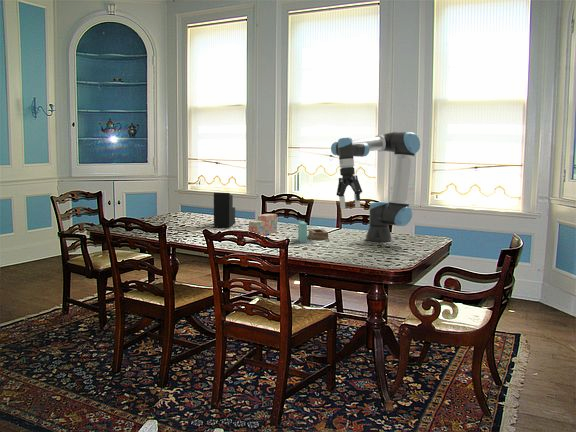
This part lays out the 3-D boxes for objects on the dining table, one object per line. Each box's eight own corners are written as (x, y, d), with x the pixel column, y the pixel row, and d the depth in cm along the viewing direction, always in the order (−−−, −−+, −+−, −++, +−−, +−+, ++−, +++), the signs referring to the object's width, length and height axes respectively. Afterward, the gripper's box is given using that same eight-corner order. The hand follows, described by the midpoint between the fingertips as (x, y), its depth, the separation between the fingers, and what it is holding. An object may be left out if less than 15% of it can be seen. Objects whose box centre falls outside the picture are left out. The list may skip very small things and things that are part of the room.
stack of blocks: (256, 237, 354) (256, 217, 352) (248, 236, 358) (248, 216, 356) (276, 233, 372) (277, 214, 370) (269, 232, 375) (269, 213, 373)
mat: (289, 239, 348) (289, 239, 348) (309, 239, 350) (309, 238, 350) (294, 244, 333) (294, 243, 333) (315, 244, 335) (315, 243, 335)
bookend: (220, 222, 411) (220, 189, 407) (236, 223, 410) (236, 189, 406) (213, 228, 388) (213, 192, 384) (229, 228, 387) (229, 193, 383)
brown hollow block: (307, 236, 360) (308, 229, 360) (323, 236, 362) (323, 229, 361) (312, 240, 347) (312, 232, 347) (328, 240, 349) (329, 232, 349)
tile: (298, 240, 345) (298, 221, 344) (303, 240, 346) (304, 221, 344) (300, 242, 337) (301, 223, 336) (306, 242, 338) (307, 223, 336)
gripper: (328, 170, 316) (331, 209, 315) (354, 164, 294) (358, 206, 294) (339, 170, 319) (342, 208, 319) (367, 164, 297) (370, 206, 297)
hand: (350, 207), depth 306 cm, fingers open, 13 cm apart
